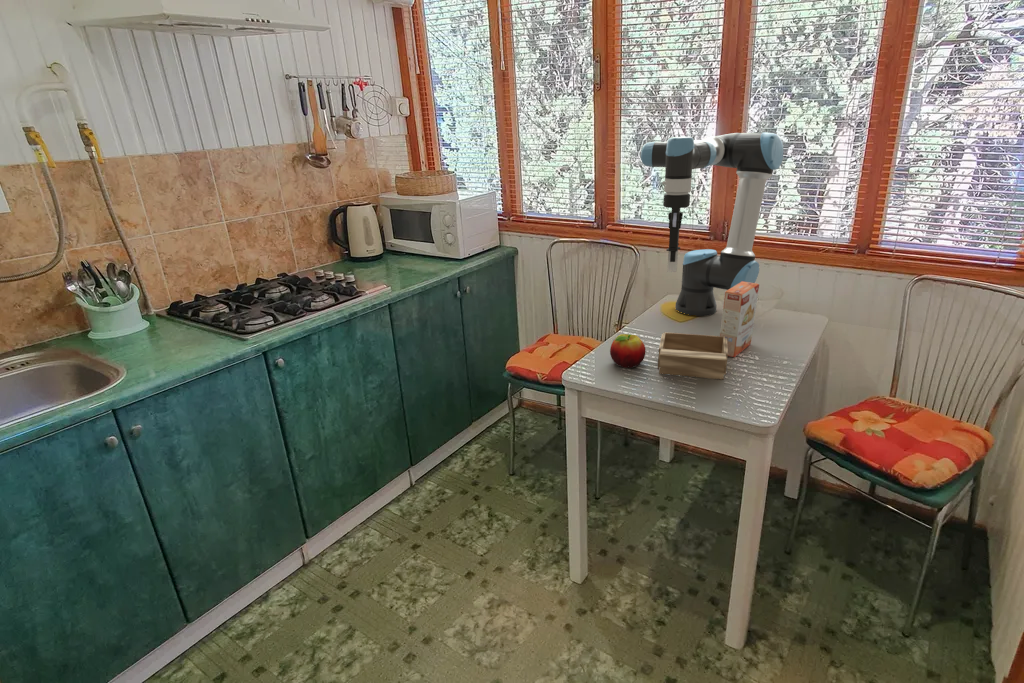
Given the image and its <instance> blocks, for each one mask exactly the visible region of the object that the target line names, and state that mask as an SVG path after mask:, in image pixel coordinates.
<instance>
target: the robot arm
mask: <svg viewBox="0 0 1024 683" xmlns="http://www.w3.org/2000/svg"><path fill="white" fill-rule="evenodd" d="M694 139H695V138H694V137H692V136H674V137H670V138H669V137H668V139H667V141H649V142H648V141H647V142H646V143H645V144H644V145H643V147H642V148H641V151H640V160H641V163H642V165H644V166H645V167H649V168H650V167H651V168H665V172H664V181H662V185H664V187H663V188H664V189H663V192H664V194H663V200H662V201H663V203H662V206H663V207H664V208H668V209H669V208H670V209H671V211H669V212H668V218H667V219H668V229H669V236H668V238H669V239H668V248H666V252H668V257H667V272H666V273H668V272H669V273H678V272H677V270H678V256H679V254H678V253H679V250H681V246H679V240H680V238H679V237H680V229H681V227H682V220H683V218H684V217H683V216H684V213H683V212H681V209H685V208H688V207H689V206H690V203H691V194H690V192H691V191H692V180H693V178H692V174H693V170H698V169H704V168H707V167H710V166H716V167H717V166H718V167H722V168H723V167H724V168H732V169H736V172H735V173H736V175H737V176H738V178H739V181H738V186H737V191H736V196H735V201H734V206H733V213H732V217H731V222H730V228H729V231H728V238H727V242H726V247H725V248H724V249H722V250H721V251H720V254H719V255H718V252H717V250H716V249H709V248H706V249H695V250H691V251H688V252H686V253H684V256H683V261H682V262H683V263H682V273H681V290H680V292H679V294H678V297H677V299H676V302H675V305H674V306H675V307H674V308H676V309H675V311H676V310H678V311H679V312H682V313H685V314H689V315H688V316H691V315H696V316H695V317H705V316H711V315H714V314H715V313H716V312H717V301H716V297H715V294H714V289H719V290H725V291H727V290H729V289H730V288H732V287H734V286H735V285H737V284H739V283H740V282H742V281H744V282H750V283H756V281H757V279H758V278H759V273H760V264H759V262H758V261H756V254H755V253H754V251H753V245H754V242H755V237H756V232H757V229H758V228H757V227H758V222H759V218H760V213H761V207H762V204H763V203H762V202H763V198H764V193H765V187H766V183H767V180H768V179H770V178H771V177H772V176H773V174H774V173H773V172H774V171H776V170H778V169H780V167H781V165H782V163H783V159H784V144H783V140H782V138H781V137H780V135H779V134H777V133H775V132H774V133H773V132H764V131H763V132H734V133H733V132H732V133H728V134H726V133H725V134H722V135H715V136H713V135H712V136H709V137H706V138H704V139H695V140H694ZM679 312H678V313H679ZM682 313H681V314H682ZM685 314H684V315H685Z"/></svg>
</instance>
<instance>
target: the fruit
mask: <svg viewBox="0 0 1024 683" xmlns="http://www.w3.org/2000/svg"><path fill="white" fill-rule="evenodd" d="M645 345H646V344H645V343H644V342H643V341H642V339H641V338H640V337H639V336H638V335H635V334H627V333H621V334H619V335H617V336H616V337H615V338H614V340H613V341H612V343H611V345H610V349H609V352H610V353H609V354H610V358H611V359H612V361H613V362H614V363H615V364H616V365H617V366H618V367H621V368H624V369H632V368H636V367H637V366H639V365H640V364H641V363H643V361H644V359H645V358H646V352H647V350H646V346H645Z"/></svg>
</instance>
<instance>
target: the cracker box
mask: <svg viewBox="0 0 1024 683" xmlns="http://www.w3.org/2000/svg"><path fill="white" fill-rule="evenodd" d="M759 289H760V284H759V283H756V282H755V283H750V282H744V281H742V282H740V283H739V284H737V285H735V286H734V287H732V288H730V289H729V290H725V291H724V298H723V306H722V314H721V323H720V324H721V325H720V333H719V336H725V338H727V348H728V357H731V358H736V357H737V356H738V355H739V354H740V353H741V352H743V351H744V350H746V349H747V348H748V347H749V346H750V345H751V344H752V338H753V331H754V326H755V325H754V324H755V316H756V311H757V310H756V309H757V304H758V303H757V302H758V296H759Z"/></svg>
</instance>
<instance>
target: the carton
mask: <svg viewBox="0 0 1024 683" xmlns="http://www.w3.org/2000/svg"><path fill="white" fill-rule="evenodd" d="M658 346H659V347H658V359H657V369H659V370H658V374H659V375H665V374H670V375H669V376H676V375H680V376H679V377H686V376H688V378H700V379H711V380H719V381H723V380H724V377H725V375H727V367H728V366H727V365H728V359H729V358H728V357H729V356H728V348H727V338H725V336H720V335H712V334H711V335H710V334H709V335H707V334H695V333H683V332H682V333H680V332H665V331H664V332H663V333H661V337H660V343H659V345H658ZM661 349H671V350H683V351H696V352H709V353H721V354H726V358H727V360H715V359H703V358H691V357H679V356H666V355H660V351H661Z"/></svg>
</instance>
